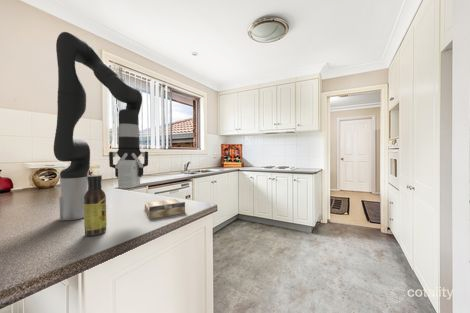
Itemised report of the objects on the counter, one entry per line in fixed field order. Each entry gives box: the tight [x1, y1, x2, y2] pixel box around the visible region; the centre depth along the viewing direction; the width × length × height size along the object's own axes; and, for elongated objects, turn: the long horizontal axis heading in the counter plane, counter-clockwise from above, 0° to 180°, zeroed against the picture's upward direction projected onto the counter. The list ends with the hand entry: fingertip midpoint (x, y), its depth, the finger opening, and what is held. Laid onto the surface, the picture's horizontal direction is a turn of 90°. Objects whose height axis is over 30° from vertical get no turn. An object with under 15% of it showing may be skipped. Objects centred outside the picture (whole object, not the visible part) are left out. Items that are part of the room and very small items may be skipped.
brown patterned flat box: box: [144, 198, 186, 219], centre depth 94 cm, size 15×16×5 cm
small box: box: [117, 159, 141, 189], centre depth 80 cm, size 8×6×10 cm
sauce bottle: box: [83, 174, 107, 237], centre depth 69 cm, size 6×6×20 cm
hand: (129, 177), depth 80 cm, fingers closed on small box, 7 cm apart
